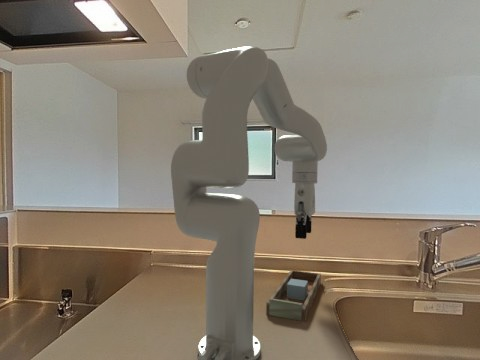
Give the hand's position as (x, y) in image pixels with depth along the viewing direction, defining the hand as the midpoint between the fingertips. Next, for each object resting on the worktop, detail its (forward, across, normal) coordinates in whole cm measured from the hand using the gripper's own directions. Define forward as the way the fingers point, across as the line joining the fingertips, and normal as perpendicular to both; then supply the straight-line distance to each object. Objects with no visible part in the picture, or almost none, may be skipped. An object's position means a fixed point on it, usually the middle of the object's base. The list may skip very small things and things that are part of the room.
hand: (303, 235), depth 101 cm
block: (+16, -8, 0) cm, 18 cm away
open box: (+16, -9, 0) cm, 18 cm away
